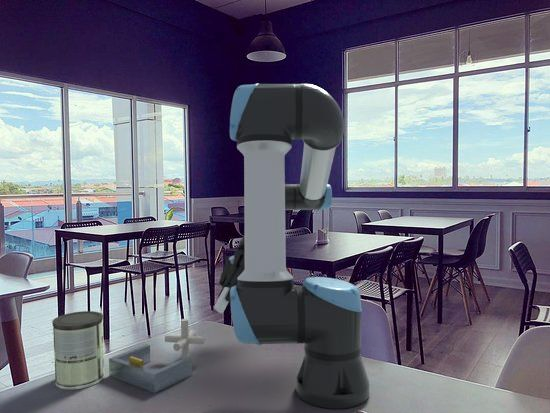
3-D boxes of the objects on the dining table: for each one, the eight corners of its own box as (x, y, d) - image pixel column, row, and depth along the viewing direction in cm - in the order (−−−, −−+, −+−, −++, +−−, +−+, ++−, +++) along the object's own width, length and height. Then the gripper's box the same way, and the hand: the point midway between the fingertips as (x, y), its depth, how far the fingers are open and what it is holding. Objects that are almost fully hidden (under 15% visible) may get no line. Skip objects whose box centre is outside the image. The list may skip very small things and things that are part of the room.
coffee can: (48, 379, 101) (46, 317, 100) (94, 366, 108) (92, 308, 107) (63, 395, 94) (61, 328, 93) (112, 380, 101) (110, 317, 100)
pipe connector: (197, 369, 106) (196, 327, 105) (157, 366, 108) (156, 325, 107) (211, 353, 116) (210, 314, 115) (175, 350, 118) (174, 312, 117)
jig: (191, 374, 103) (191, 352, 103) (155, 393, 94) (154, 368, 94) (147, 360, 112) (146, 339, 111) (109, 375, 103) (108, 353, 102)
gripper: (278, 250, 133) (243, 321, 121) (243, 247, 141) (207, 313, 128) (267, 234, 128) (230, 306, 116) (232, 231, 136) (193, 299, 123)
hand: (218, 310), depth 122 cm, fingers closed
